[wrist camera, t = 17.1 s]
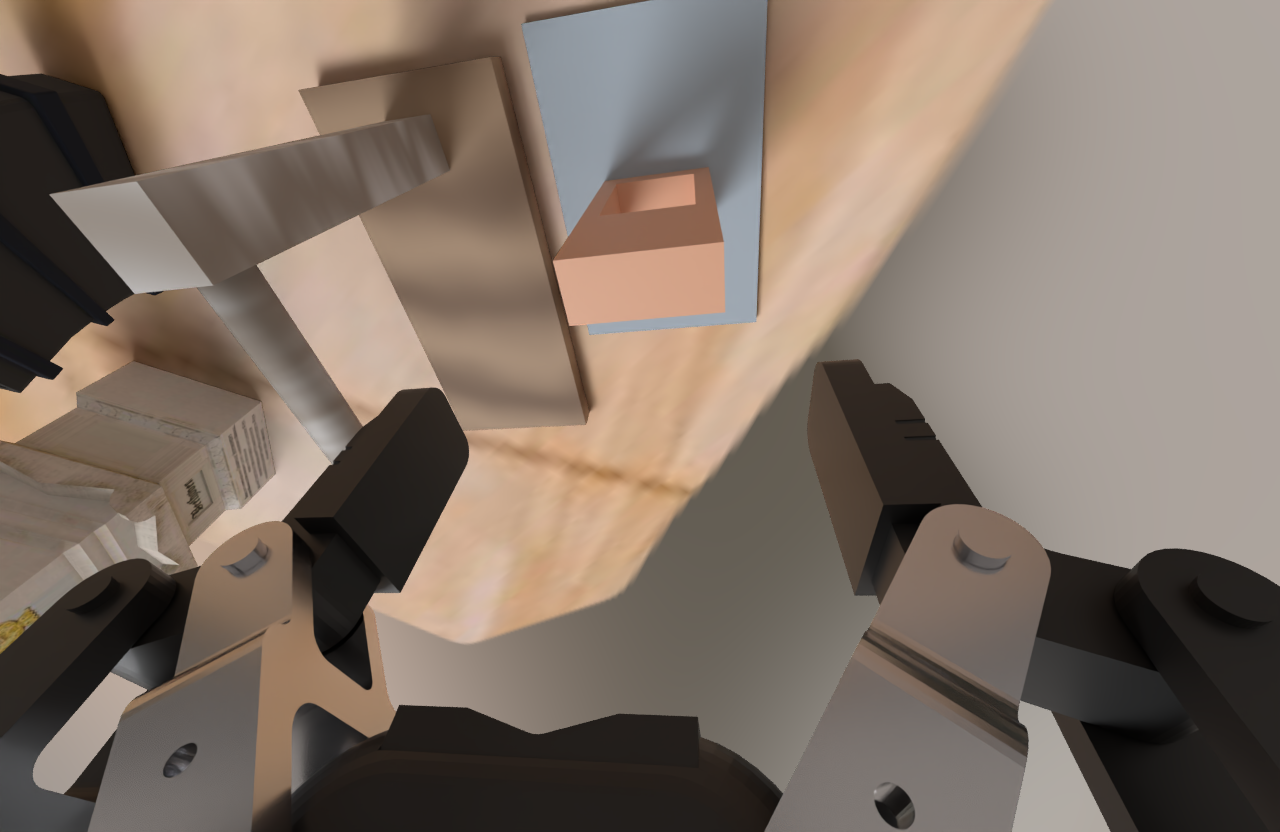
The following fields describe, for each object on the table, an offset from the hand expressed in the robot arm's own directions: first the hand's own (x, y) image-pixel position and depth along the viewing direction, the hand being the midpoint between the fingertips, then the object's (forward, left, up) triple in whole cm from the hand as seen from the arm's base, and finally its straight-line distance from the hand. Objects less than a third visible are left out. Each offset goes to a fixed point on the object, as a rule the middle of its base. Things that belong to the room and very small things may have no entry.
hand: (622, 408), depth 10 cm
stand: (+4, -12, -20) cm, 23 cm away
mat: (0, 0, -20) cm, 20 cm away
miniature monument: (+14, -41, -20) cm, 48 cm away
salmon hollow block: (0, 0, -19) cm, 19 cm away
